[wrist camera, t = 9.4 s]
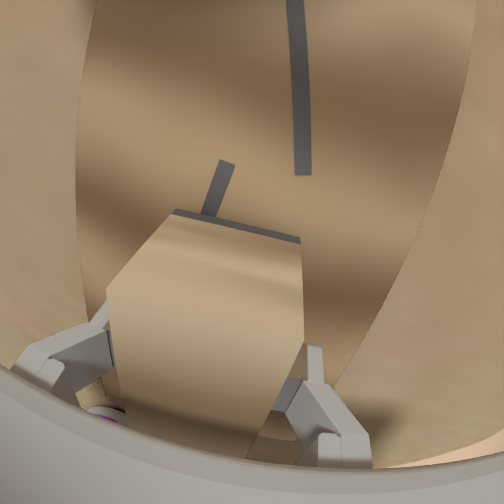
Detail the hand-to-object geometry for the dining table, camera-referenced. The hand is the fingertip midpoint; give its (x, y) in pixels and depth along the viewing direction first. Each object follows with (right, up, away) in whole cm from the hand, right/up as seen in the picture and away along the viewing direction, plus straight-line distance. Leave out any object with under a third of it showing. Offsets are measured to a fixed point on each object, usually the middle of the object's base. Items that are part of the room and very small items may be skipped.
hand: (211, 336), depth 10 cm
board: (+1, +3, +2) cm, 4 cm away
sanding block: (0, +1, +1) cm, 2 cm away
